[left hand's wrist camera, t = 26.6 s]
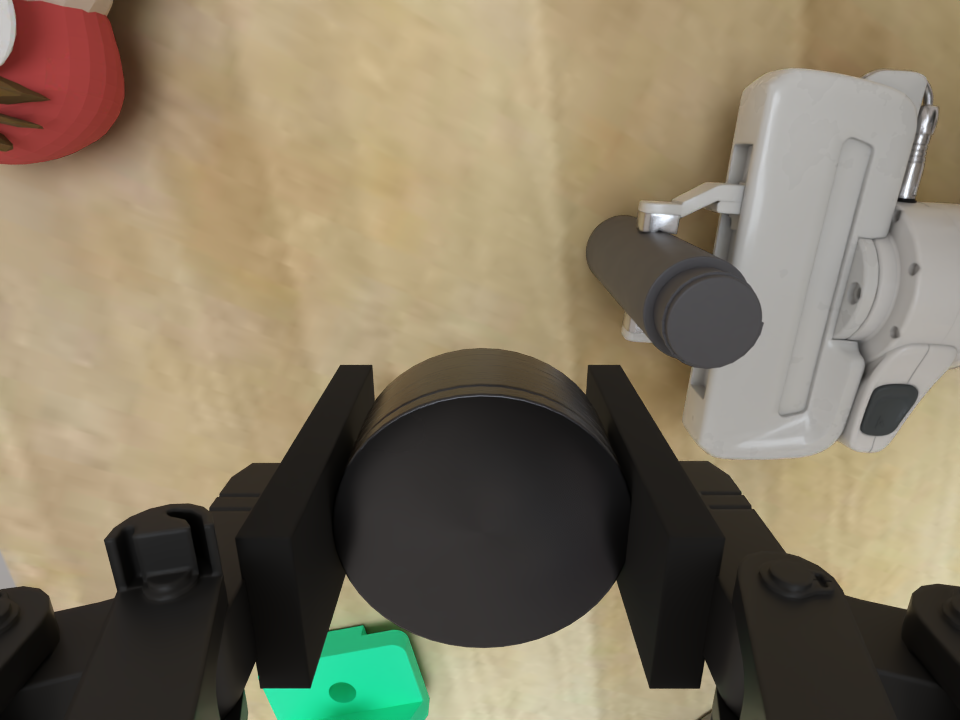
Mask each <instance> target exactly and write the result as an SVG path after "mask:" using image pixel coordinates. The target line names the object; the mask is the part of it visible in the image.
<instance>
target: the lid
mask: <svg viewBox="0 0 960 720" xmlns="http://www.w3.org/2000/svg"><path fill="white" fill-rule="evenodd" d="M631 503H632V497H631V493H630V490H629V487H628V483H627V480H626V478H625V475H624V473H623V471H622V469H621V466H620V464H619V461H618V459H617V456H616V454H615V452H614V449H613V447H612V445H611V442H610V440H609V438H608V435H607V433H606V431H605V428H604V426H603V424H602V421H601V419H600V417H599V415H598V413H597V411H596V409H595V407H594V406H593V405H592V403H591V402H590V400H589V399H588V397H587V396H586V395H585V394H584V392H583V391H582V390H581V389H580V388H579V387H578V386H577V385H576V384H575V383H574V382H573V381H572V380H570V379H569V378H568V377H567V376H565V375H564V374H563V373H562V372H560V371H558V370H557V369H555V368H554V367H552V366H550V365H549V364H547V363H544V362H542V361H540V360H538V359H536V358H533V357H530V356H527V355H524V354H521V353H517V352H513V351H507V350H501V349H487V348H477V349H464V350H458V351H453V352H448V353H444V354H441V355H438V356H435V357H432V358H429V359H427V360H425V361H423V362H421V363H419V364H417V365H415V366H413V367H412V368H410V369H409V370H407V371H406V372H404V373H403V374H401V375H400V376H398V377H397V378H396V379H395V380H394V381H393V382H392V383H390V384H389V385H388V386H387V387H386V388H385V389H384V391H383V392H382V393H381V394H380V395H379V396H378V398H377V399H376V400H375V402H374V403H373V405H372V407H371V408H370V410H369V411H368V413H367V416H366V418H365V420H364V422H363V424H362V427H361V429H360V432H359V434H358V436H357V439H356V441H355V444H354V446H353V449H352V451H351V454H350V456H349V459H348V461H347V463H346V466H345V468H344V471H343V473H342V476H341V478H340V481H339V483H338V487H337V490H336V494H335V497H334V503H333V511H332V530H333V537H334V542H335V547H336V551H337V554H338V557H339V559H340V562H341V565H342V567H343V569H344V571H345V573H346V575H347V577H348V578H349V580H350V582H351V583H352V584H353V586H354V587H355V589H356V590H357V591H358V593H359V594H360V595H361V596H362V597H363V598H364V599H365V600H366V601H367V602H368V604H369V605H370V606H371V607H373V608H374V609H375V610H376V611H377V612H379V613H380V614H381V615H382V616H384V617H385V618H386V619H388V620H390V621H391V622H393V623H394V624H396V625H397V626H399V627H401V628H403V629H405V630H407V631H409V632H411V633H413V634H415V635H418V636H421V637H424V638H426V639H429V640H432V641H436V642H440V643H444V644H448V645H455V646H462V647H475V648H491V647H504V646H511V645H517V644H522V643H526V642H529V641H533V640H537V639H540V638H542V637H545V636H547V635H550V634H552V633H555V632H557V631H559V630H561V629H562V628H564V627H566V626H568V625H570V624H572V623H573V622H575V621H576V620H578V619H579V618H580V617H582V616H583V615H585V614H586V613H587V612H588V611H589V610H591V609H592V608H593V607H594V606H595V605H596V604H597V603H598V602H599V601H600V600H601V599H602V598H603V597H604V596H605V595H606V593H607V592H608V591H609V590H610V588H611V587H612V585H613V584H614V583H615V581H616V580H617V578H618V577H619V575H620V573H621V571H622V568H623V566H624V564H625V561H626V553H627V543H628V534H629V524H630V514H631Z"/></svg>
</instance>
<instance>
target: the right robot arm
mask: <svg viewBox="0 0 960 720" xmlns="http://www.w3.org/2000/svg"><path fill="white" fill-rule="evenodd" d="M922 100H923V106H921V103H922ZM938 118H939V106H933V92H932V88H931V85H930V83H929V82H928V80H927V78H926V77H925V76H924V75H922V74H920V73H918V72H915V71H912V70H900V69H876V70H873V71H870V72H868V73H866V74H864V75H863V76H861V77H859V78H858V77H854V76H850V75H845V74H840V73H834V72H828V71H822V70H813V69H804V68H785V69H779V70H774V71H771V72H768V73H765V74H763V75H762V76H760V77H759V78H757V79H756V80H755V81H753V82H752V83H751V84H750V85H748V86H747V87H746V88H745V89H744V90H743V93H742V96H741V100H740V106H739V111H738V117H737V122H736V128H735V133H734V139H733V144H732V150H731V155H730V161H729V166H728V171H727V177H726V182H725V183H718V182H705V183H703V184H701V185H699V186H697V187H695V188H693V189H691V190H689V191H687V192H685V193H683V194H681V195H679V196H677V197H676V198H674V199H672V202H668V201H649V200H642V201H639V208H638V216H637V224H636V229H639V231H642V232H649V233H656V232H658V231H661V232H663V233H666V234H677V230H678V225H679V219H680V218H682V217H684V216H686V215H688V214H691V213H693V212H695V211H697V210H699V209H701V208H704V209H707V210H710V211H713V212H717V213H720V215H719V221H718V226H717V231H716V237H715V242H714V248H713V253H712V254H713V255H715V256H717V257H719V258H721V259H723V260H725V261H727V262H729V263H730V264H732V265H733V266H735V267H736V268H737V269H738V270H739V271H740V272H741V274H742V275H743V276H744V278H745V280H746V281H747V283H748V284H749V285H751V287H752V289H753V290H754V292H755V293H756V295H757V297H758V299H759V302H760V305H761V309H762V322H764V325H763V328H762V332H761V335H760V336H759V338H758V340H757V341H756V343H755V345H754V346H753V347H752V348H751V349H750V350H749V351H748V352H747V353H746V354H745V355H744V356H742V357H741V358H740V359H738V360H737V361H735V362H734V363H731V364H728V365H726V366H723V367H720V368H712V369H703V368H694V367H692V368H691V373H690V379H689V384H688V390H687V395H686V400H685V406H684V411H683V417H682V422H683V425H684V427H685V428H686V430H687V431H688V433H689V434H690V436H691V437H692V439H693V440H694V441H695V442H696V444H697V445H698V446H699V447H700V448H701V449H702V450H704V451H705V452H706V453H707V454H709V455H711V456H713V457H716V458H722V459H737V460H769V459H790V458H800V457H806V456H811V455H814V454H817V453H820V452H822V451H824V450H826V449H827V448H829V447H830V446H831V445H833V444H834V443H835V442H836V441H839V442H840V443H842V444H843V445H845V446H847V447H848V448H850V449H852V450H854V451H857V452H864V453H874V452H878V451H881V450H883V449H884V448H885V447H886V446H887V445H888V444H889V443H890V442H891V441H892V439H893V438H894V437H895V435H896V434H897V432H898V431H899V429H900V428H901V426H902V425H903V423H904V422H905V421H906V419H907V418H908V416H909V415H910V414H911V412H912V411H913V410H914V408H915V407H916V406H917V404H918V403H919V402H920V400H921V399H922V398H923V397H924V395H925V394H926V393H927V392H928V391H929V389H930V388H931V387H932V386H933V385H934V384H935V383H936V382H937V381H938V379H939V378H940V377H941V376H942V375H943V374H944V373H945V372H946V371H947V370H949V369H955V368H960V204H951V203H933V202H917V201H915V199H916V195H917V192H918V189H919V185H920V182H921V178H922V175H923V171H924V166H925V163H924V162H925V161H926V157H925V156H926V154H927V152H926V150H927V149H928V144H929V142H930V139H931V135H933V134H934V132H935V129H936V126H937V123H938ZM621 334H622V335H623V337H624V338H625V339H626V340H629V341H633V342H648V343H652V342H651V341H650V340H649V338H648V337H647V336H646V335H645V334H644V333H643V331H642V330H641V329H640V328H639V327H638V325H637V324H636V323H635V322H634V321H633V320H632V318H631V317H630V316H629V315H628V314H627V313H626V311H625V312H624V319H623V325H622V332H621Z"/></svg>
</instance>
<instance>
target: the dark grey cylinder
mask: <svg viewBox="0 0 960 720" xmlns="http://www.w3.org/2000/svg"><path fill="white" fill-rule="evenodd" d="M636 224H637V218H635V217H632V216H625V215H622V216H615V217H612V218H609V219H607V220H605V221H604V222H602V223H601V224H600V225H599V226H598V227H597V228H596V229H595V230H594V231H593V233H592V234H591V236H590V238H589V240H588V244H587V248H586V258H587V263H588V265H589V268H590V270H591V271H592V273H593V274H594V275H595V276H596V277H597V279H598V280H599V281H600V282H601V283H602V284H603V286H604V287H605V288H606V289H607V290H608V291H609V293H610V294H611V295H612V296H613V297H614V299H615V300H616V301H617V302H618V303H619V304H620V306H621V307H622V308H623V309H624V310H625V311H626V313H627V314H628V315H629V316H630V317H631V318H632V320H633V321H634V322H635V323H636V324H637V325H638V327H639V328H640V329H641V330H642V331H643V333H644V334H645V335H646V336H647V337H648V338H649V340H650V341H651V342H652V343H653V344H654V345H655V346H656V347H657V348H658V349H659V350H660V351H662V352H663V353H665V354H667V355H669V356H671V357H674V358H676V359H678V360H680V361H681V362H682V363H684V364H687V365H689V366H692V367H694V368H703V369H712V368H720V367H723V366H726V365H728V364H731V363H734V362H735V361H737V360H738V359H740V358H741V357H742V356H744V355H745V354H746V353H747V352H748V351H749V350H750V349H751V348H752V347H753V346H754V345H755V343H756V341H757V340H758V338H759V336H760V335H761V332H762V328H763V325H764V322H762V309H761V305H760V302H759V299H758V297H757V295H756V293H755V292H754V290H753V289H752V287H751V285H749V284H748V283H747V281H746V280H745V278H744V276H743V275H742V274H741V272H740V271H739V270H738V269H737V268H736V267H735V266H733V265H732V264H730V263H729V262H727V261H725V260H723V259H721V258H719V257H717V256H715V255H713V254H710V253H708V252H706V251H704V250H702V249H700V248H698V247H696V246H694V245H692V244H690V243H688V242H686V241H684V240H681V239H679V238H677V237H675V236H673V235H671V234H666V233H663V232H661V231H658V232H656V233H649V232H642V231H639V229H636Z"/></svg>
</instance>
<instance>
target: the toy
mask: <svg viewBox="0 0 960 720" xmlns="http://www.w3.org/2000/svg"><path fill="white" fill-rule="evenodd" d="M112 4H113V0H0V164H31V163H38V162H45V161H49V160H53V159H58V158H61V157H64V156H66V155H69V154H72V153H75V152H77V151H78V150H80V149H82V148H84V147H86V146H88V145H90V144H91V143H93V142H95V141H97V140H98V139H100V138H101V137H102V136H103V135H105V134H106V133H107V132H108V130H109V129H110V128H111V126H112V125H113V123H114V122H115V121H116V119H117V118H118V116H119V114H120V111H121V108H122V104H123V101H124V97H125V93H124V77H123V71H122V65H121V60H120V55H119V51H118V48H117V44H116V41H115V37H114V34H113V30H112V27H111V23H110V21H109V20H108V18H107V15H108V13H109V11H110V9H111V6H112Z"/></svg>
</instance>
